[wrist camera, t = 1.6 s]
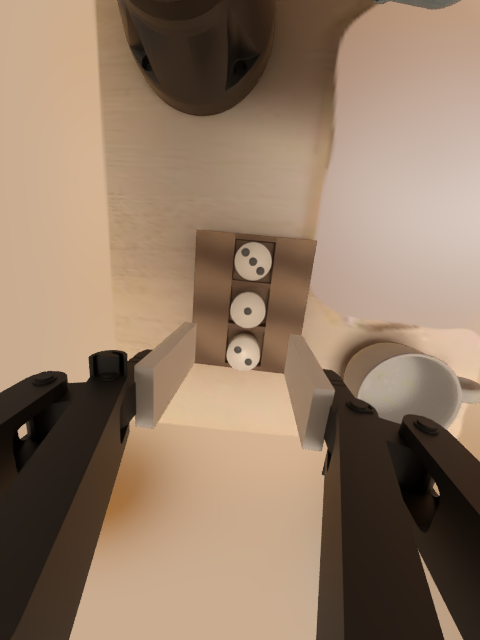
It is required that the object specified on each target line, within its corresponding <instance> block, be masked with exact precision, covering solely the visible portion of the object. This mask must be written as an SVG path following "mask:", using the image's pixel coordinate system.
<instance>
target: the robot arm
mask: <svg viewBox="0 0 480 640" xmlns="http://www.w3.org/2000/svg"><path fill="white" fill-rule="evenodd" d="M117 1H118V5H119V10H120V14H121V18H122V22H123V26H124V30H125V34H126V38H127V41H128V44H129V47H130V49H131V52H132V54H133V56H134V59H135V61H136V63H137V64H138V66H139V68H140V70H141V71H142V73H143V75H144V76H145V78H146V80H147V81H148V83H149V84H150V86H151V87H152V88H153V90H154V91H155V92H156V93H157V94H158V95H159V96H160V97H161V98H162V99H163V100H164V101H165V102H166V103H168V104H169V105H170V106H172V107H174V108H176V109H178V110H180V111H182V112H185V113H188V114H193V115H212V114H216V113H220V112H223V111H225V110H227V109H229V108H231V107H233V106H234V105H236V104H237V103H238V102H240V101H241V100H242V99H243V98H244V97H245V96H246V95H247V94H248V93H249V92H250V91H251V90H252V89H253V87H254V86H255V85H256V83H257V81H258V80H259V78H260V76H261V75H262V73H263V71H264V68H265V66H266V64H267V61H268V58H269V55H270V51H271V47H272V42H273V34H274V20H275V0H117ZM372 1H374V2H375V3H378V4H384V3H386V2H388V1H393V2H398V3H403V4H408V5H412V6H417V7H422V8H427V9H441V8H445V7H448V6H451V5H453V4H455V3H457V2H459V1H461V0H372ZM196 329H197V324H196V323H187V322H185V323H184V324H183V325H182V326H180V327H179V328H178V329H177V330H176V331H175V332H173V333H172V334H171V335H170V336H169V337H168V338H166V339H165V340H164V341H163V342H162V343H161V344H159V345H158V346H157V347H156V348H155V349H154V350H149V349H147V350H144V351H142V352H139V353H138V354H136V355H135V356H134V357H133V358H131V359H130V360H129V361H127V354H126V353H125V352H123V351H118V350H108V351H101V352H97V353H95V354H92V355H91V356H89V369H90V378H89V379H88V381H87V382H83V383H68V380H67V374H65V373H63V372H59V371H47V372H41V373H39V374H36V375H33V376H30V377H28V378H26V379H24V380H22V381H20V382H19V383H17V384H15V385H13V386H12V387H10V388H8V389H6V390H4V391H3V392H1V393H0V640H69V637H70V634H71V631H72V627H73V624H74V620H75V617H76V614H77V610H78V606H79V603H80V600H81V596H82V593H83V589H84V586H85V583H86V579H87V576H88V572H89V569H90V565H91V562H92V559H93V555H94V551H95V548H96V545H97V542H98V538H99V535H100V531H101V528H102V524H103V521H104V517H105V514H106V510H107V507H108V504H109V500H110V497H111V494H112V490H113V487H114V483H115V480H116V476H117V473H118V470H119V466H120V463H121V459H122V456H123V452H124V449H125V446H126V442H127V438H128V435H129V422H130V421H131V419H132V418H133V417H134V416H135V424H136V427H143V428H151V429H154V427H155V426H156V424H157V422H158V421H159V419H160V418H161V416H162V414H163V413H164V411H165V410H166V408H167V406H168V405H169V403H170V401H171V400H172V398H173V397H174V395H175V393H176V392H177V390H178V388H179V387H180V385H181V384H182V382H183V380H184V379H185V377H186V375H187V374H188V372H189V371H190V369H191V367H192V366H193V364H194V363H195V349H196ZM284 374H285V379H286V383H287V387H288V391H289V395H290V399H291V404H292V408H293V412H294V416H295V420H296V424H297V428H298V433H299V437H300V441H301V445H302V449H308V450H315V451H322V447H323V443H324V439H325V442H326V444H327V447H328V449H327V454H326V458H325V463H324V467H323V471H322V475H325V478H324V498H323V517H322V537H321V557H320V576H319V596H318V616H317V635H316V640H444V637H443V634H442V630H441V627H440V623H439V620H438V617H437V613H436V610H435V606H434V603H433V600H432V596H431V593H430V589H429V586H428V583H427V579H426V576H425V572H424V569H423V566H422V562H421V559H420V555H419V552H420V554H421V556H422V558H423V560H424V562H425V564H426V566H427V568H428V570H429V571H430V574H431V576H432V578H433V580H434V582H435V584H436V586H437V588H438V590H439V592H440V594H441V596H442V598H443V600H444V602H445V604H446V606H447V608H448V610H449V612H450V614H451V616H452V618H453V620H454V622H455V624H456V626H457V628H458V630H459V632H460V634H461V636H462V638H463V639H464V640H480V462H479V461H478V460H477V459H476V458H475V457H474V456H473V455H472V454H471V453H470V452H469V451H468V450H467V449H466V448H465V447H464V446H463V445H462V444H461V443H460V442H459V441H458V440H457V439H456V438H455V437H454V436H453V435H452V434H450V433H449V432H448V431H447V430H446V429H445V428H444V427H442V426H441V425H440V424H438V423H436V422H434V421H433V420H431V419H429V418H427V417H424V416H418V415H414V414H407V415H404V416H403V419H402V422H401V424H399V423H396V422H392V421H389V420H386V419H383V418H380V417H379V416H378V413H377V411H376V409H375V408H374V407H373V406H371V405H370V404H369V403H367V402H365V401H363V400H360V399H357V398H355V397H354V395H353V394H352V393H351V391H350V390H349V388H348V387H346V384H345V383H344V382H343V380H342V379H341V377H340V376H339V375H338V374H336V373H335V372H334V371H332V370H325V369H322V368H321V366H320V364H319V363H318V361H317V359H316V358H315V356H314V355H313V353H312V351H311V350H310V348H309V346H308V345H307V343H306V341H305V340H304V338H303V336H302V335H295V334H290V337H289V344H288V350H287V357H286V363H285V370H284ZM25 423H26V426H27V433H28V434H26V435H25V436H24V437H23V438H21V439H20V438H19V437H18V431H17V430H18V429H19V428H20V427H21V426H22V425H23V424H25ZM434 483H436V485H437V486H438V489H439V492H440V496H439V495H438V494H437V493H436V492H435V490H434V489H433V485H434ZM417 548H418V549H417ZM418 550H419V552H418Z"/></svg>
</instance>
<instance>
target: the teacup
mask: <svg viewBox="0 0 480 640" xmlns="http://www.w3.org/2000/svg"><path fill="white" fill-rule="evenodd" d="M343 382H344V383H345V384H346V387H348V388H349V390H350V391H351V393H352V394H353V395H354V397H355V398H357V399H360V400H363V401H365V402H367V403H369V404H370V405H371V406H373V407H374V408H375V409H376V411H377V413H378V416H379V417H380V418H383V419H386V420H389V421H392V422H396V423H399V424H401V422H402V419H403V416H404V415H407V414H414V415H418V416H424V417H427V418H429V419H431V420H433V421H434V422H436V423H438V424H440V425H441V426H442V427H444V428H445V429H446V430H447V429H448V427H449V426H450V425H451V424H452V423H453V422H454V420H455V418H456V417H457V414H458V412H459V409H460V407H461V402H463V403H469V404H474V403H475V404H476V403H480V384H478V383H477V382H474V381H472V380H469V379H466V378H462V377H458V376H456V374H455V373H454V371H453V370H452V369H451V368H450V367H449V366H448V365H447V364H446V363H444V362H443V361H441V360H439V359H437V358H435V357H433V356H430V355H426V354H424V353H422V352H420V351H418V350H415V349H413V348H410V347H408V346H405V345H402V344H397V343H390V342H384V343H376V344H372V345H370V346H367V347H365V348H363V349H361V350H360V351H359V352H357V353H356V354H355V355H354V356H353V357H352V358H351V360H350V361H349V363H348V364H347V367H346V369H345V372H344V379H343Z"/></svg>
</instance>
